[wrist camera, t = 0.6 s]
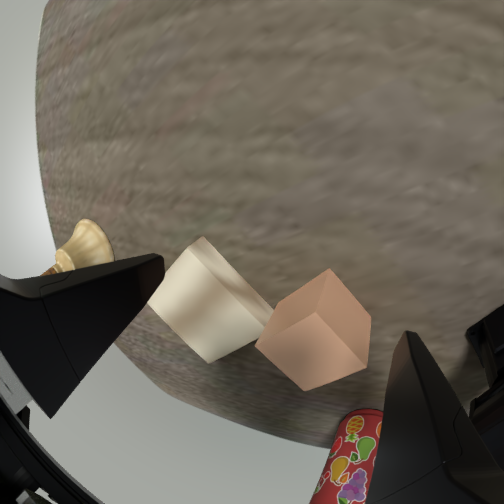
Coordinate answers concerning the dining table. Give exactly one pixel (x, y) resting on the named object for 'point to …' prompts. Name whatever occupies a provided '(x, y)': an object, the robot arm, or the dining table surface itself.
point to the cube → (317, 333)
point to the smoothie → (350, 460)
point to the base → (209, 303)
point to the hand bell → (83, 249)
